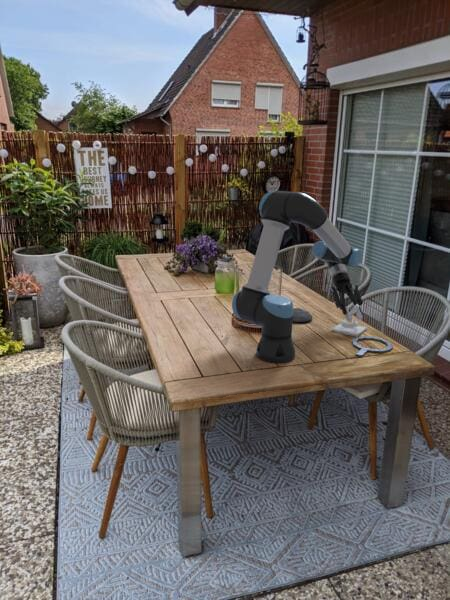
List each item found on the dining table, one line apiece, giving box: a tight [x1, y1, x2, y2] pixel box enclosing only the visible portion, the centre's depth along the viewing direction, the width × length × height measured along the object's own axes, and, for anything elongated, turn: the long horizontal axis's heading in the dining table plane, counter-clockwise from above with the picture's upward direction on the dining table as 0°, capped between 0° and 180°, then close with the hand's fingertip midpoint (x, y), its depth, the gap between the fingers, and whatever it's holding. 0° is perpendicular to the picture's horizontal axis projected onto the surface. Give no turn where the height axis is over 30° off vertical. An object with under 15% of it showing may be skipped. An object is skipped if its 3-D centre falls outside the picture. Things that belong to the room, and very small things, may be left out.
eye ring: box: [351, 335, 394, 358], centre depth 184 cm, size 23×16×1 cm
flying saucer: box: [293, 307, 313, 323], centre depth 218 cm, size 15×15×6 cm
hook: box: [340, 304, 361, 328], centre depth 201 cm, size 8×12×7 cm
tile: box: [331, 322, 368, 338], centre depth 203 cm, size 12×12×1 cm
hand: (355, 320), depth 198 cm, fingers closed on hook, 5 cm apart
